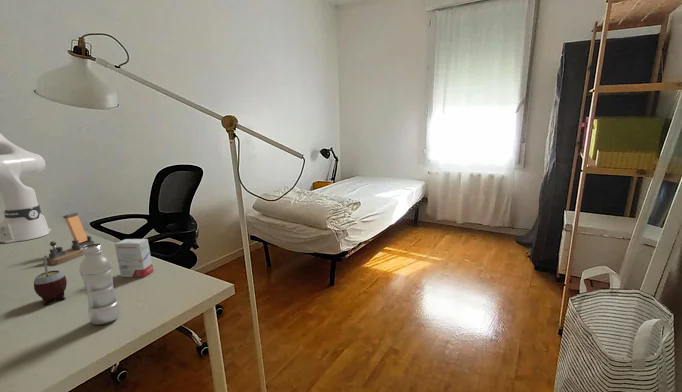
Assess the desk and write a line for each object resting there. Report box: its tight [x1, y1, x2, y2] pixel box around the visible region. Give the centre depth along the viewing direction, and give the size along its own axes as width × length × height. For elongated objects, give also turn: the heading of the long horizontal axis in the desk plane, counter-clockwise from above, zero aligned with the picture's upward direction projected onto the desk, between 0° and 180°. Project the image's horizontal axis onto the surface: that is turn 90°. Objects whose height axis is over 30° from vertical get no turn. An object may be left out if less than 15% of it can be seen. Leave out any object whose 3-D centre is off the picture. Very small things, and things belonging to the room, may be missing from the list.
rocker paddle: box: [62, 211, 88, 243], centre depth 134 cm, size 2×4×12 cm, turn 167°
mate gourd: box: [33, 255, 68, 306], centre depth 94 cm, size 8×8×15 cm
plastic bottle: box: [79, 242, 121, 326], centre depth 82 cm, size 6×7×20 cm
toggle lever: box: [49, 240, 57, 251], centre depth 125 cm, size 2×2×4 cm
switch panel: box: [42, 235, 95, 266], centre depth 130 cm, size 7×16×6 cm, turn 167°
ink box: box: [114, 238, 154, 278], centre depth 110 cm, size 9×5×12 cm, turn 84°
